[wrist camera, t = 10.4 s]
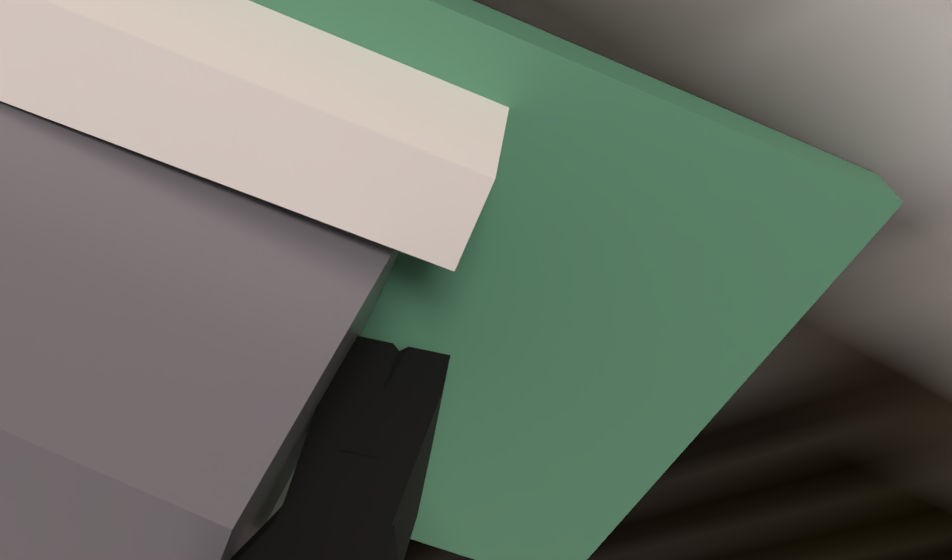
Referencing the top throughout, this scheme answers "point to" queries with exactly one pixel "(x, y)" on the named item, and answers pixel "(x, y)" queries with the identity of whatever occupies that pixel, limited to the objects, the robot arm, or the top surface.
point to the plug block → (157, 348)
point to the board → (486, 222)
